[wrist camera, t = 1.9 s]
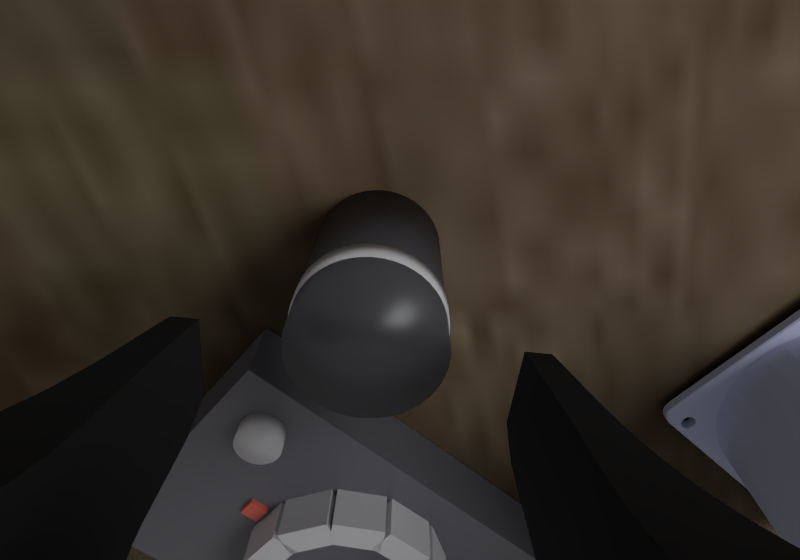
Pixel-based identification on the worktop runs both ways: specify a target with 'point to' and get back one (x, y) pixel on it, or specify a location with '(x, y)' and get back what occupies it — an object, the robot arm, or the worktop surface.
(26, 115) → the worktop surface
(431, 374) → the lens
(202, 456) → the camera body
